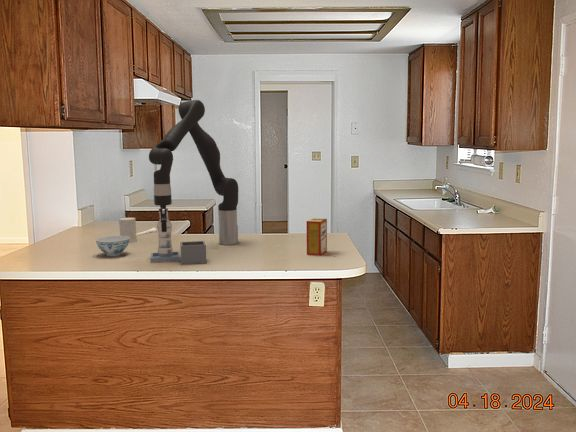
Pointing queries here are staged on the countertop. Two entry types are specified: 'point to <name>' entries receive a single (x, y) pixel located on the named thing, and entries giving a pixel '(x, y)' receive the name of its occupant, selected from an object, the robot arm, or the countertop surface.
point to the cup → (128, 228)
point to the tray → (165, 258)
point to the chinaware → (112, 244)
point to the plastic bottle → (164, 240)
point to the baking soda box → (316, 236)
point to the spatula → (147, 231)
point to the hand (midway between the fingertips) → (164, 230)
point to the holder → (193, 252)
